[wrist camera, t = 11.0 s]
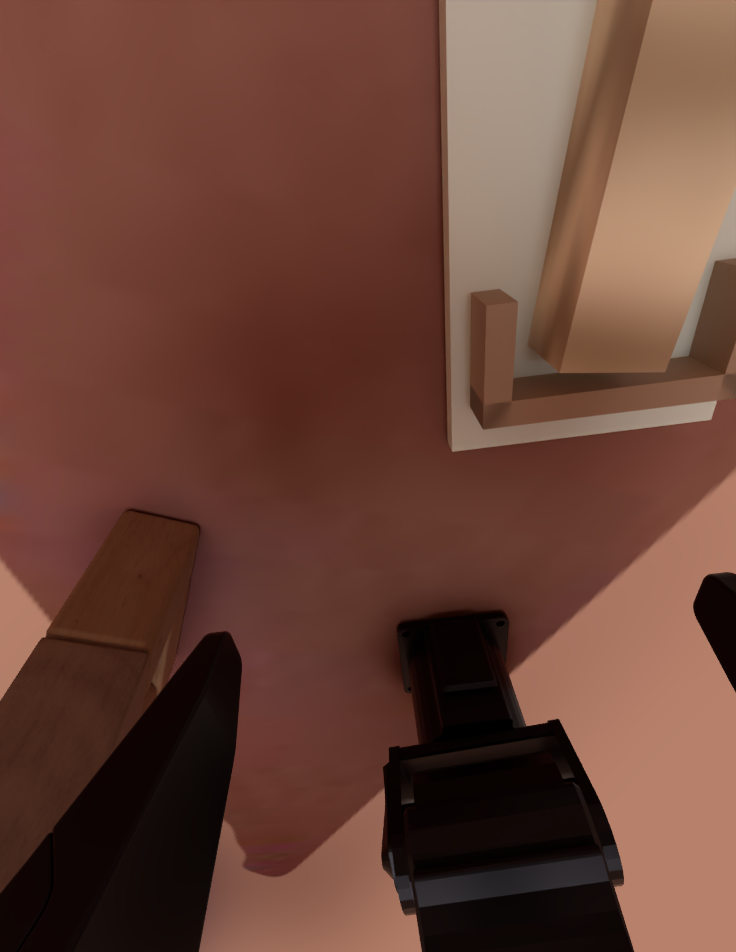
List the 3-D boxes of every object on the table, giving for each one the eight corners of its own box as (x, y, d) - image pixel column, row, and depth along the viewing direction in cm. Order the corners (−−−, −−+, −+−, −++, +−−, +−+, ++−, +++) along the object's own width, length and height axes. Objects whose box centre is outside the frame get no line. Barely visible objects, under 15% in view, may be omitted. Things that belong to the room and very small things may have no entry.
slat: (617, 344, 17) (665, 372, 15) (527, 344, 17) (559, 373, 15) (822, -313, 10) (992, -486, 7) (663, -324, 10) (779, -507, 7)
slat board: (695, 409, 20) (746, 442, 18) (447, 440, 20) (462, 477, 18) (1041, -715, 8) (1355, -1115, 6) (426, -610, 8) (463, -953, 6)
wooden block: (203, 523, 22) (-85, 1246, 7) (177, 656, 28) (-18, 1227, 13) (122, 505, 21) (-390, 1278, 6) (112, 645, 27) (-180, 1244, 12)
